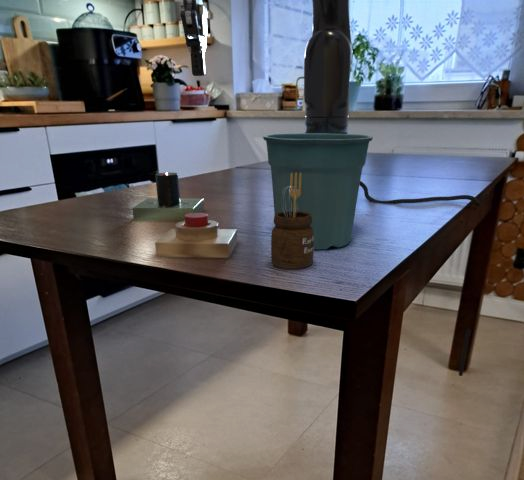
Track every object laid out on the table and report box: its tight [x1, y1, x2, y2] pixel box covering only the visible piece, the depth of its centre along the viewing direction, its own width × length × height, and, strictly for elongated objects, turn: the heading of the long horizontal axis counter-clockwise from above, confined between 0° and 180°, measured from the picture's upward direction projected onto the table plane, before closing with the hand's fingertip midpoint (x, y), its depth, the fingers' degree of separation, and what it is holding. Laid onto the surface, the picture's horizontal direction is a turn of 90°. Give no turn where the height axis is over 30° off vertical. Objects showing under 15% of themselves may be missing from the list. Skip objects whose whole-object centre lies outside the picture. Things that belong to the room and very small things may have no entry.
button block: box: [154, 219, 238, 259], centre depth 80 cm, size 11×9×4 cm
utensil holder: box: [270, 173, 315, 271], centre depth 71 cm, size 6×6×12 cm
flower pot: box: [262, 132, 374, 250], centre depth 81 cm, size 16×16×16 cm
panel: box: [131, 197, 205, 222], centre depth 104 cm, size 12×10×3 cm
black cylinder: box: [154, 171, 181, 205], centre depth 102 cm, size 4×4×6 cm
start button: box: [184, 212, 209, 227], centre depth 79 cm, size 4×4×2 cm
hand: (198, 75), depth 94 cm, fingers closed
